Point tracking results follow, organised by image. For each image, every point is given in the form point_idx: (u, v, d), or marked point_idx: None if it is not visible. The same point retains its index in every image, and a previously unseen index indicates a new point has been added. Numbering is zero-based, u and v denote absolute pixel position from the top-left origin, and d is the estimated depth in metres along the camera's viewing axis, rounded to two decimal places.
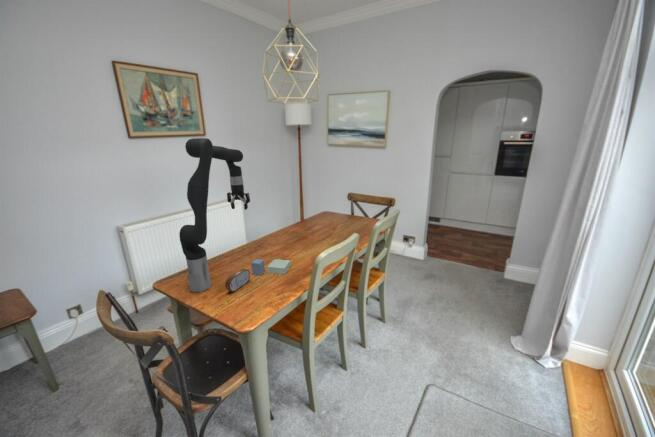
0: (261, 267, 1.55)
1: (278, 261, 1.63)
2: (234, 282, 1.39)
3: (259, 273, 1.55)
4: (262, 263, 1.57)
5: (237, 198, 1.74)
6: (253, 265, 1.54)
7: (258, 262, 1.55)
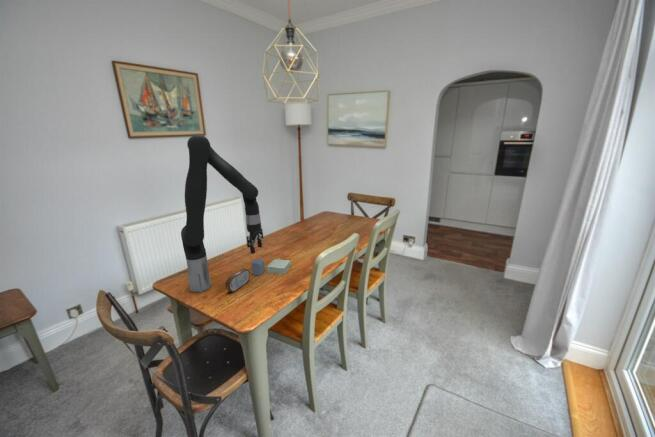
0: (261, 267, 1.55)
1: (278, 261, 1.63)
2: (234, 282, 1.39)
3: (259, 273, 1.55)
4: (262, 263, 1.57)
5: (257, 238, 1.52)
6: (253, 265, 1.54)
7: (258, 262, 1.55)
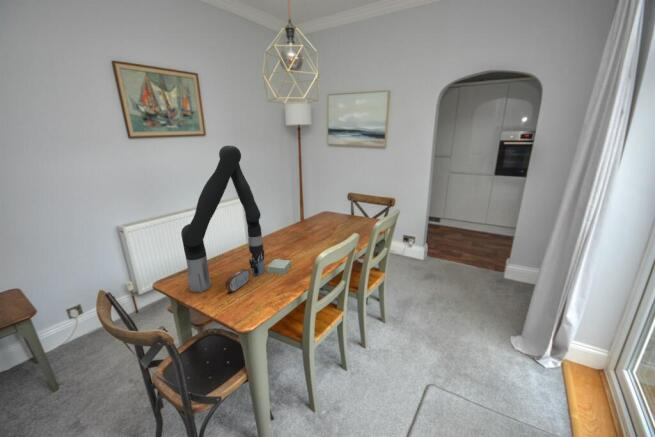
0: (261, 267, 1.55)
1: (278, 261, 1.63)
2: (234, 282, 1.39)
3: (259, 273, 1.55)
4: (262, 263, 1.57)
5: (259, 258, 1.55)
6: None
7: None
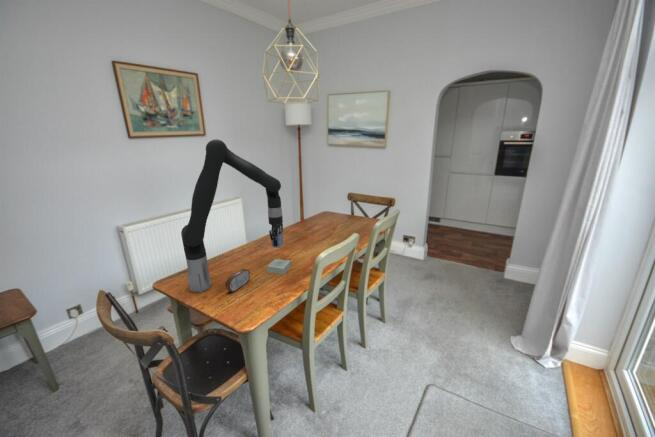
0: (280, 239, 1.54)
1: (278, 261, 1.63)
2: (234, 282, 1.39)
3: (278, 245, 1.54)
4: (281, 236, 1.56)
5: None
6: None
7: None
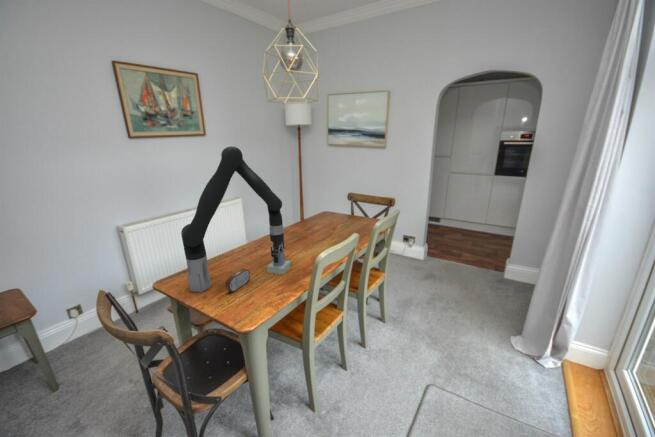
0: (282, 258, 1.58)
1: None
2: (234, 282, 1.39)
3: (280, 264, 1.57)
4: (283, 254, 1.59)
5: (279, 247, 1.57)
6: None
7: (279, 253, 1.57)
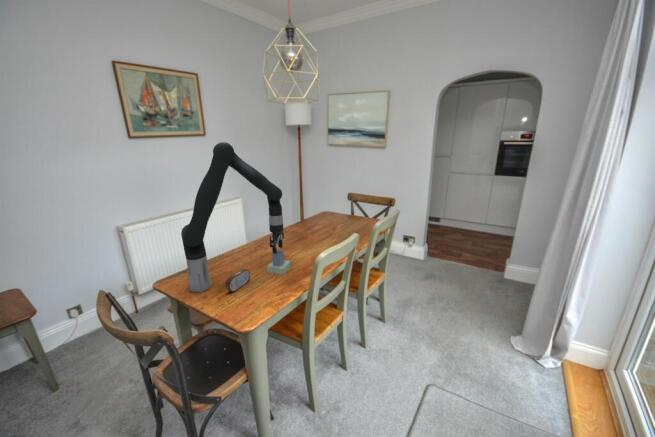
0: (281, 258, 1.58)
1: None
2: (234, 282, 1.39)
3: (279, 264, 1.57)
4: (282, 254, 1.59)
5: (278, 238, 1.55)
6: (274, 256, 1.57)
7: (278, 253, 1.57)
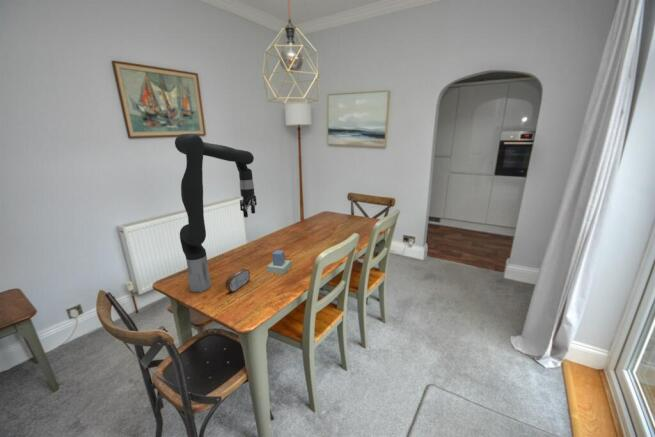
0: (281, 258, 1.58)
1: None
2: (234, 282, 1.39)
3: (279, 264, 1.57)
4: (283, 254, 1.59)
5: (250, 203, 1.61)
6: (274, 255, 1.57)
7: (279, 253, 1.57)
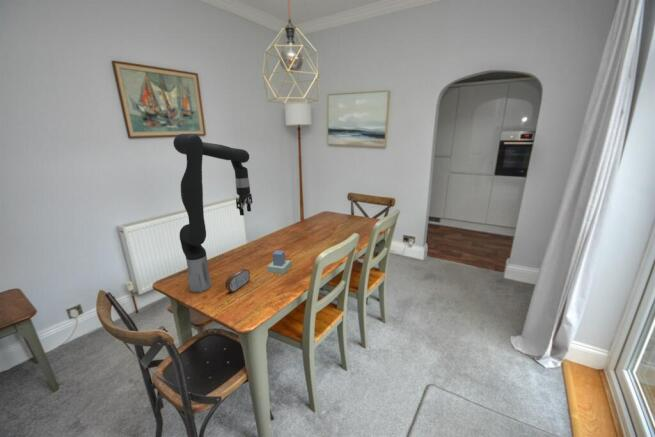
0: (282, 258, 1.57)
1: None
2: (234, 282, 1.39)
3: (280, 264, 1.57)
4: (283, 254, 1.59)
5: (246, 201, 1.62)
6: (274, 256, 1.57)
7: (279, 253, 1.57)
